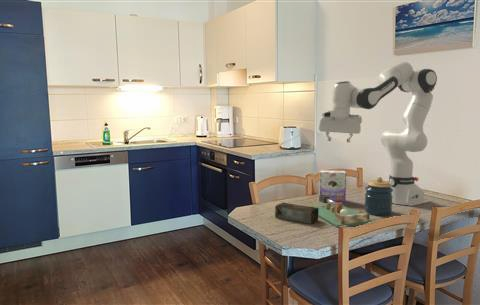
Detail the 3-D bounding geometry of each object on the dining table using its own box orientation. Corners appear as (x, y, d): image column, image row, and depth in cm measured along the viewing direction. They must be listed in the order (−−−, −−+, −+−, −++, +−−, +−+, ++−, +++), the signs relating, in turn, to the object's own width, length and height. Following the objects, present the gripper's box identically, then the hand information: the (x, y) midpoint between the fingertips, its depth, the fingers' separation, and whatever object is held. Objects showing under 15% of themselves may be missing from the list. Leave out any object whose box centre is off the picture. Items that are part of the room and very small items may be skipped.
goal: (361, 217, 186) (361, 210, 185) (369, 221, 180) (369, 213, 180) (334, 220, 181) (335, 212, 181) (342, 224, 176) (342, 216, 175)
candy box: (344, 199, 221) (345, 170, 218) (345, 202, 215) (346, 172, 213) (319, 198, 223) (320, 169, 221) (319, 201, 217) (320, 171, 215)
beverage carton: (282, 213, 196) (282, 200, 195) (319, 220, 185) (319, 206, 184) (274, 217, 189) (274, 204, 188) (312, 225, 178) (312, 210, 177)
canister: (366, 215, 192) (368, 179, 190) (362, 207, 205) (363, 174, 202) (394, 216, 190) (396, 180, 188) (388, 209, 203) (390, 175, 201)
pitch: (338, 205, 209) (339, 200, 208) (375, 223, 181) (375, 216, 180) (304, 208, 203) (304, 203, 202) (336, 227, 174) (336, 220, 174)
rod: (319, 204, 206) (319, 194, 205) (324, 203, 206) (324, 194, 206) (336, 213, 190) (337, 203, 189) (342, 213, 191) (342, 202, 190)
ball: (344, 215, 189) (345, 207, 189) (349, 217, 186) (349, 209, 185) (338, 215, 188) (338, 208, 187) (342, 218, 185) (342, 210, 184)
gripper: (362, 114, 198) (360, 142, 200) (321, 113, 206) (320, 139, 208) (361, 115, 193) (359, 143, 194) (319, 113, 201) (317, 140, 202)
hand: (338, 141), depth 201 cm, fingers open, 8 cm apart
